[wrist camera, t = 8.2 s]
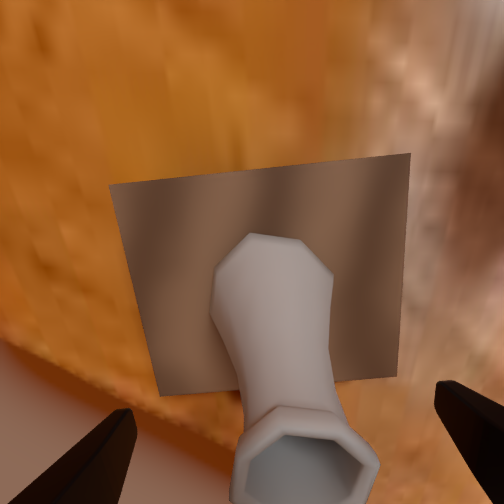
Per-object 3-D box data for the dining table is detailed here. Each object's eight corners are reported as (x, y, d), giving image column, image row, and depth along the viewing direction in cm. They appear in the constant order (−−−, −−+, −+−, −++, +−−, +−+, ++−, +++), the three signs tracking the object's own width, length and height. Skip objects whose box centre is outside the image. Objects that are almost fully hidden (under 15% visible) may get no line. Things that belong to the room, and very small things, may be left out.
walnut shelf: (374, 160, 17) (410, 153, 13) (369, 340, 20) (396, 376, 17) (140, 184, 17) (108, 184, 13) (176, 357, 21) (159, 396, 17)
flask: (293, 360, 16) (353, 616, 7) (190, 315, 15) (89, 535, 6) (353, 266, 15) (552, 426, 5) (242, 209, 14) (220, 271, 4)
